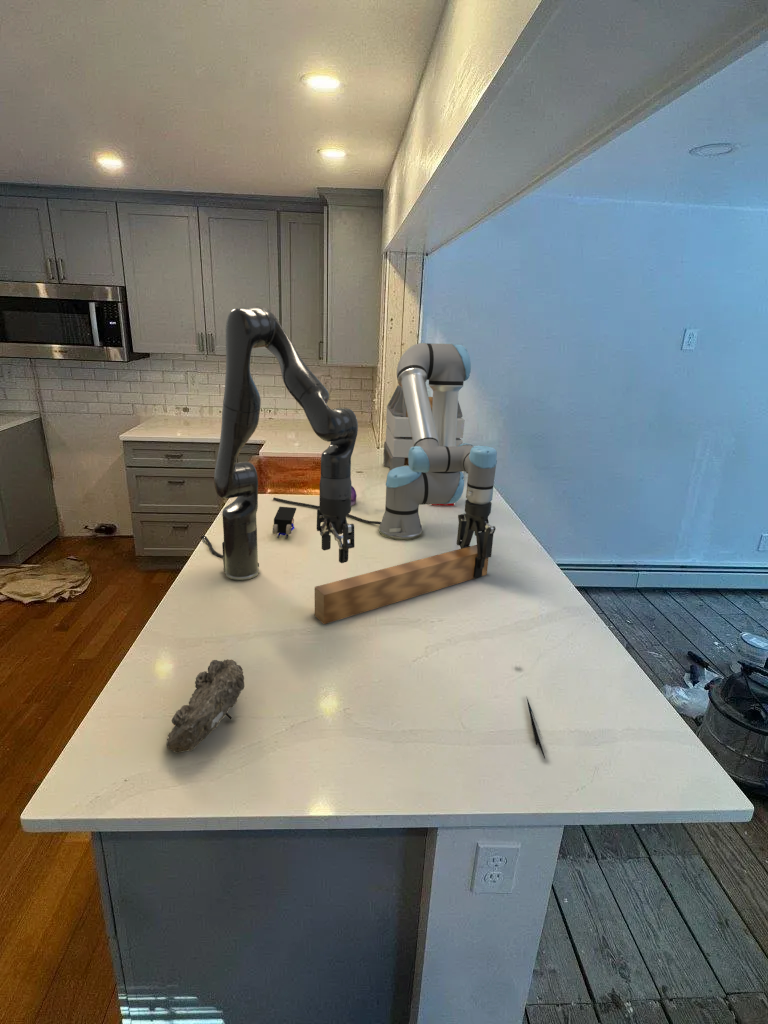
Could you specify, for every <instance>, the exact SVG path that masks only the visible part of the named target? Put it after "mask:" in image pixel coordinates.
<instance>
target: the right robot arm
mask: <svg viewBox="0 0 768 1024" xmlns="http://www.w3.org/2000/svg"><path fill="white" fill-rule="evenodd" d="M471 362H472V361H471V357H470V354H469V351H468V348H466V346H464V345H463V344H456V343H429V342H419V343H416V344H413V345H411V346H410V347H408V348H407V349H406V350H405V351H404V352H403V353H402V354H401V357H400V358H399V361H398V363H397V367H396V379H397V383H398V385H399V386H400V387H402V389H403V394H404V399H405V404H406V409H407V415H408V420H409V425H410V430H411V435H412V440H413V445H414V447H411V448H410V450H409V454H408V460H409V461H408V463H409V466H407V465H404V466H401V467H397V468H394V469H392V470H390V469H389V470H388V472H387V475H386V480H385V504H384V505H385V507H384V508H385V509H384V513H383V515H382V519H381V521H379V520H378V521H377V520H367V519H365V518H361V517H359V516H356V515H353V514H350V513H349V514H348V515H347V516H346V517H348V518H351V519H354V520H357V521H359V522H363V523H365V524H369V525H379V526H378V533H379V534H380V535H381V536H382V537H385V538H387V539H389V540H395V541H410V540H415V539H418V538H420V537H421V536H422V535H423V525H422V524H421V518H420V515H419V507H420V506H422V505H423V506H424V505H432V504H444V505H445V504H451V503H454V504H456V503H457V502H459V501H460V499H461V498H462V496H463V493H464V488H465V479H464V478H465V475H464V473H463V472H465V473H466V474H467V482H466V493H465V498H466V499H465V501H464V512H465V513H460V514H458V515H457V519H458V526H457V536H456V546H459V547H460V548H459V549H462V548H466V547H470V546H471V542H472V539H473V536H475V539H476V545H477V553H478V557H476V558H475V567H474V579H478V578H481V577H483V576H482V570H483V568H484V565H485V559H486V558H489V559H490V558H492V552H493V543H494V534H495V532H496V530H497V529H496V526H494V525H493V526H492V525H491V524H490V521H489V517H490V515H491V512H492V504H493V503H492V501H493V494H494V484H495V476H496V469H497V464H498V460H497V459H498V452H497V450H496V448H494V447H492V446H488V445H473V444H470V443H462V444H460V445H458V446H456V429H457V410H458V402H459V392H460V390H461V389H462V388H464V383H465V382H466V381H468V380H469V378H470V376H471V375H470V374H471V373H472V372H471V371H472V363H471ZM427 381H428V387H430V389H431V390H432V397H433V402H432V410H431V406H430V401H429V397H430V396H429V392H428V388H427V385H426V384H427V383H426V382H427ZM272 499H273V501H277V502H282V503H286V504H291V505H297V506H303V507H308V508H313V509H319V505H316V504H310V503H304V502H298V501H292V500H288V499H282V498H278V497H273V498H272Z"/></svg>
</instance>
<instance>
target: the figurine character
mask: <svg viewBox="0 0 768 1024" xmlns="http://www.w3.org/2000/svg"><path fill="white" fill-rule="evenodd" d="M296 511H297V507H289V506H278V509H277V512H276V513H275V516H274V517H273V525H272V535H275V536H276V535H277V536H276V538H277V539H280V538H281V536H285V540H287V539H288V538H289V536H290V535H291V534H292V531H293V530H295V519H294V517H295V514H296Z"/></svg>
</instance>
